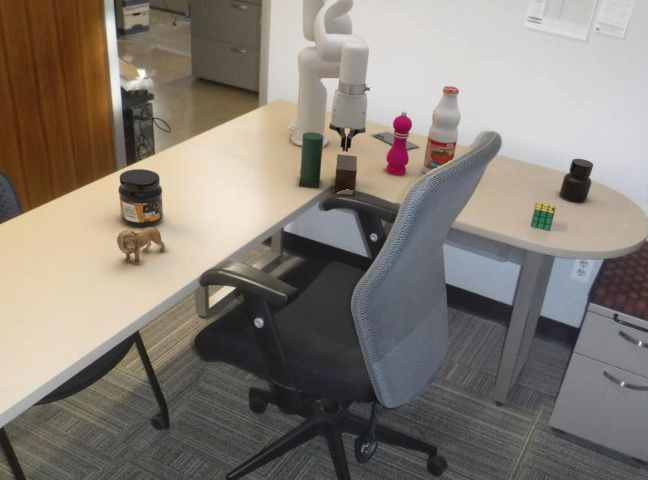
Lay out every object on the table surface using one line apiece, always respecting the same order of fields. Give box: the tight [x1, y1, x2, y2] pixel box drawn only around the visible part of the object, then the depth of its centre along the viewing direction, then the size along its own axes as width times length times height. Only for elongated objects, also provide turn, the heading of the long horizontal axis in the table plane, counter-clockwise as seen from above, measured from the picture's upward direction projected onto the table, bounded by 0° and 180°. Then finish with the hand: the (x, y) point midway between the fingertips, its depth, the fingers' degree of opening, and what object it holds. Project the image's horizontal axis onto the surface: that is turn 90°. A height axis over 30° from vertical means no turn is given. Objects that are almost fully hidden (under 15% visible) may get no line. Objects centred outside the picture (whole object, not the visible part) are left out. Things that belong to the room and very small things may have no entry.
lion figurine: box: [116, 226, 166, 265], centre depth 167 cm, size 15×5×9 cm, turn 159°
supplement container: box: [117, 168, 164, 228], centre depth 182 cm, size 10×10×12 cm
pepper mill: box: [385, 110, 413, 176], centre depth 229 cm, size 7×7×20 cm
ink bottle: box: [559, 158, 594, 203], centre depth 232 cm, size 10×9×12 cm
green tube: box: [298, 132, 324, 189], centre depth 214 cm, size 13×6×16 cm, turn 91°
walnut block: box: [333, 153, 358, 195], centre depth 217 cm, size 6×12×8 cm, turn 1°
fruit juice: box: [422, 85, 462, 175], centre depth 231 cm, size 9×9×28 cm
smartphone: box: [372, 131, 419, 150], centre depth 259 cm, size 8×1×16 cm
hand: (345, 149), depth 213 cm, fingers closed
